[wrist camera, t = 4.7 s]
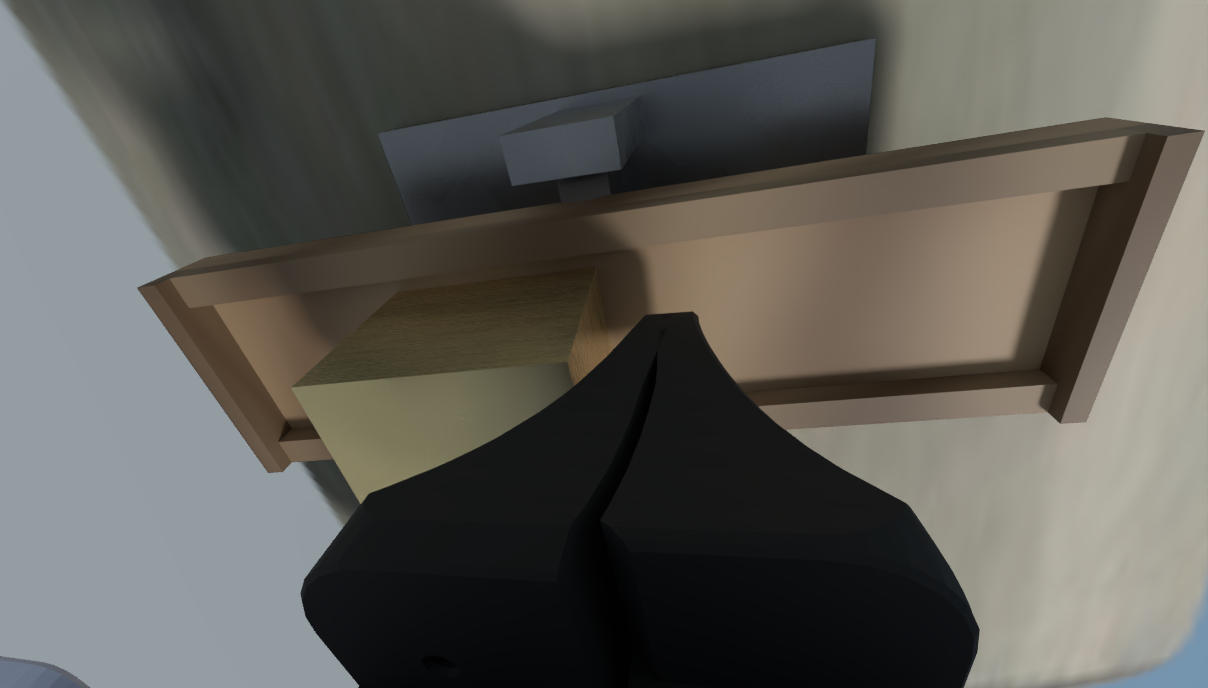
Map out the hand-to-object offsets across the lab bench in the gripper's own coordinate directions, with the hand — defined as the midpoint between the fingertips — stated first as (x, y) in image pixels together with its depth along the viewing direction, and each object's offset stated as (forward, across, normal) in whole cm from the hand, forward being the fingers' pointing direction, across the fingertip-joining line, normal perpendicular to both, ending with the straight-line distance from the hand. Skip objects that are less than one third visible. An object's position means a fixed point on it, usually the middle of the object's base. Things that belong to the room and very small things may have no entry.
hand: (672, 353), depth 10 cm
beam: (+3, +2, 0) cm, 3 cm away
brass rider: (+1, +4, 0) cm, 4 cm away
